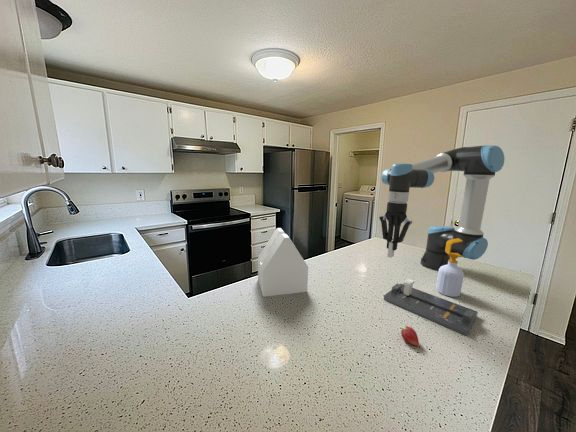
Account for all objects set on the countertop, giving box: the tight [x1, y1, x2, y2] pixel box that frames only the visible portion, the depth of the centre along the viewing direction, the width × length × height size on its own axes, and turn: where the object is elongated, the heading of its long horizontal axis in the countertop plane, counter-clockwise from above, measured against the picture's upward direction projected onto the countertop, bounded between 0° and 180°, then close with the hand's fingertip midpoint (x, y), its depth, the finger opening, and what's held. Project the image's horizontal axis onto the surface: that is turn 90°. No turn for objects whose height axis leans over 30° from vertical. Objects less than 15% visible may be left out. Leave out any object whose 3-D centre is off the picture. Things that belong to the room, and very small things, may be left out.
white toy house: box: [257, 227, 309, 298], centre depth 104 cm, size 19×15×25 cm
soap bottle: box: [435, 238, 465, 298], centre depth 102 cm, size 9×9×25 cm
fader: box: [403, 278, 415, 296], centre depth 97 cm, size 5×2×5 cm, turn 132°
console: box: [383, 283, 479, 336], centre depth 92 cm, size 16×28×4 cm, turn 42°
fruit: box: [400, 324, 420, 347], centre depth 73 cm, size 4×6×5 cm
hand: (390, 256), depth 101 cm, fingers closed
